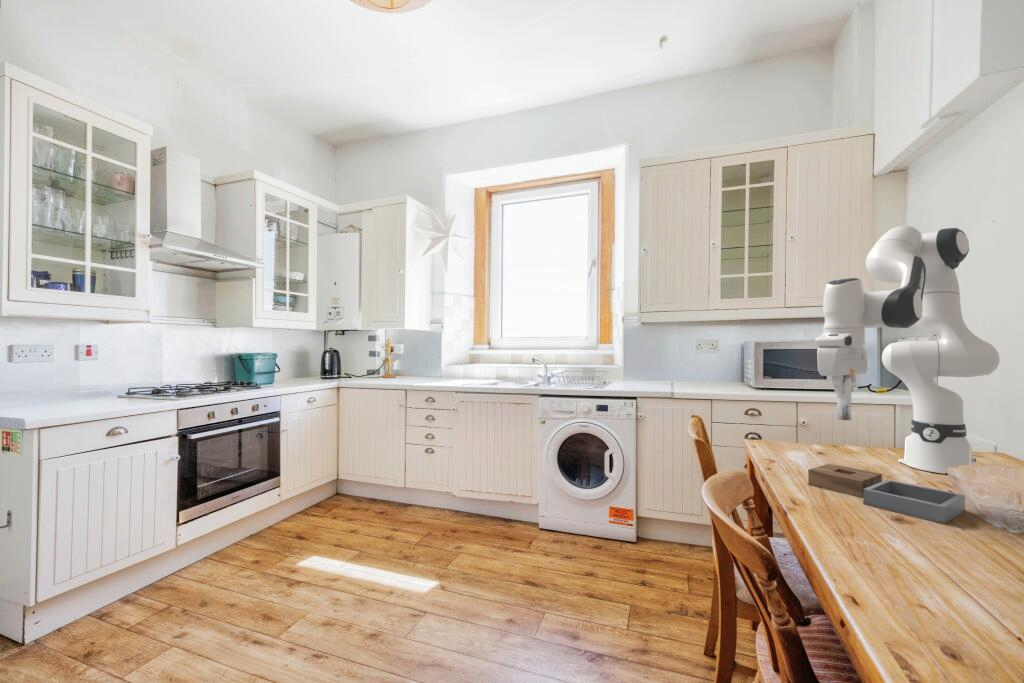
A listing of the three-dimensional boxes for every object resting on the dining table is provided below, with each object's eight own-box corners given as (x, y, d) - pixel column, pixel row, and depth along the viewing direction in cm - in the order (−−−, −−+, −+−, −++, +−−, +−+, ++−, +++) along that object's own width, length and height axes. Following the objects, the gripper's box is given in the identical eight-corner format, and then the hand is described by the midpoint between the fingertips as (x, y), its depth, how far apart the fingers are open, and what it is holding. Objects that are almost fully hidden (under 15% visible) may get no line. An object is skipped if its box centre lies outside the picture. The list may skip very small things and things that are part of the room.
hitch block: (829, 477, 125) (829, 463, 125) (882, 489, 115) (882, 473, 115) (808, 484, 119) (808, 469, 119) (862, 497, 109) (862, 481, 109)
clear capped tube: (838, 417, 120) (838, 368, 120) (857, 419, 116) (857, 369, 117) (830, 418, 118) (830, 369, 118) (850, 421, 114) (849, 369, 114)
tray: (887, 493, 112) (887, 479, 112) (964, 510, 100) (964, 495, 100) (863, 503, 104) (863, 488, 104) (944, 524, 92) (944, 507, 92)
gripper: (847, 340, 126) (847, 389, 125) (811, 339, 115) (812, 393, 114) (874, 339, 120) (874, 391, 120) (840, 339, 109) (840, 395, 109)
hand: (844, 392), depth 117 cm, fingers closed on clear capped tube, 4 cm apart
